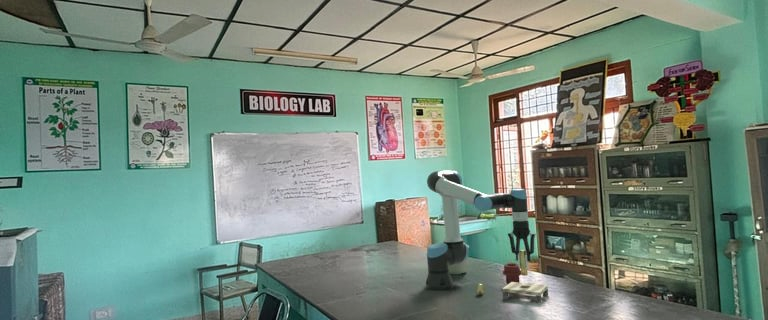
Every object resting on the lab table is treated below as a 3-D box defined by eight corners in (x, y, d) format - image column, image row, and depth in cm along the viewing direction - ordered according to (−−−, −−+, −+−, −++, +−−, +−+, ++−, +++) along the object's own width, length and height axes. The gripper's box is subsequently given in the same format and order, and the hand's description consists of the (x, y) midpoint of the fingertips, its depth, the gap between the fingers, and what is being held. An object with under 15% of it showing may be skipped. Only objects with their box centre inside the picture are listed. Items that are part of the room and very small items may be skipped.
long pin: (520, 275, 211) (518, 251, 211) (522, 274, 213) (520, 249, 214) (526, 275, 209) (524, 251, 209) (528, 274, 211) (526, 250, 212)
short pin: (476, 294, 220) (476, 284, 220) (478, 293, 222) (478, 283, 222) (482, 295, 218) (481, 285, 218) (484, 293, 221) (483, 284, 221)
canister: (439, 270, 278) (437, 238, 278) (466, 268, 280) (463, 236, 280) (446, 277, 260) (443, 242, 260) (474, 274, 262) (472, 240, 262)
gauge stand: (503, 298, 210) (502, 288, 210) (512, 291, 222) (511, 281, 222) (540, 303, 200) (539, 292, 200) (548, 295, 211) (547, 285, 211)
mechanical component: (521, 283, 235) (523, 288, 226) (502, 283, 237) (504, 288, 228) (520, 261, 236) (522, 265, 226) (501, 261, 238) (502, 265, 228)
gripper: (502, 220, 214) (505, 268, 213) (534, 221, 204) (538, 270, 203) (507, 219, 220) (510, 265, 219) (539, 219, 210) (542, 267, 210)
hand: (523, 267), depth 211 cm, fingers closed on long pin, 3 cm apart
